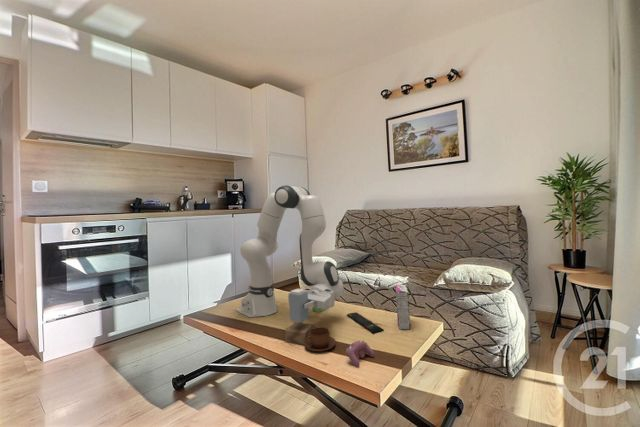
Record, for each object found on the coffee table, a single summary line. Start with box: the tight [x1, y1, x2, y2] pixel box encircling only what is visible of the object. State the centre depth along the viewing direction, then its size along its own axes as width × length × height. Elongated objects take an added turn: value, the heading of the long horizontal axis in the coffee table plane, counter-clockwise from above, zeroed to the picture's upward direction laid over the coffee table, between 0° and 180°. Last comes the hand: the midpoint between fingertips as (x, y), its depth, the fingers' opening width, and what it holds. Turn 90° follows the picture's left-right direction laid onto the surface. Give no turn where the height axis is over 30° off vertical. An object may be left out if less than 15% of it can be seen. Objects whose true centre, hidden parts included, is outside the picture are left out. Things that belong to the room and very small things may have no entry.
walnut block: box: [284, 321, 315, 346], centre depth 126 cm, size 9×9×5 cm
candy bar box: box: [395, 284, 411, 330], centre depth 135 cm, size 11×5×16 cm, turn 168°
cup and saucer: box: [304, 326, 337, 352], centre depth 118 cm, size 12×12×6 cm
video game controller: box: [345, 340, 375, 368], centre depth 107 cm, size 10×5×7 cm, turn 134°
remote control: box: [346, 311, 385, 335], centre depth 139 cm, size 5×24×1 cm, turn 22°
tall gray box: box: [288, 288, 310, 323], centre depth 125 cm, size 6×6×12 cm
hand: (297, 305), depth 125 cm, fingers closed on tall gray box, 5 cm apart
